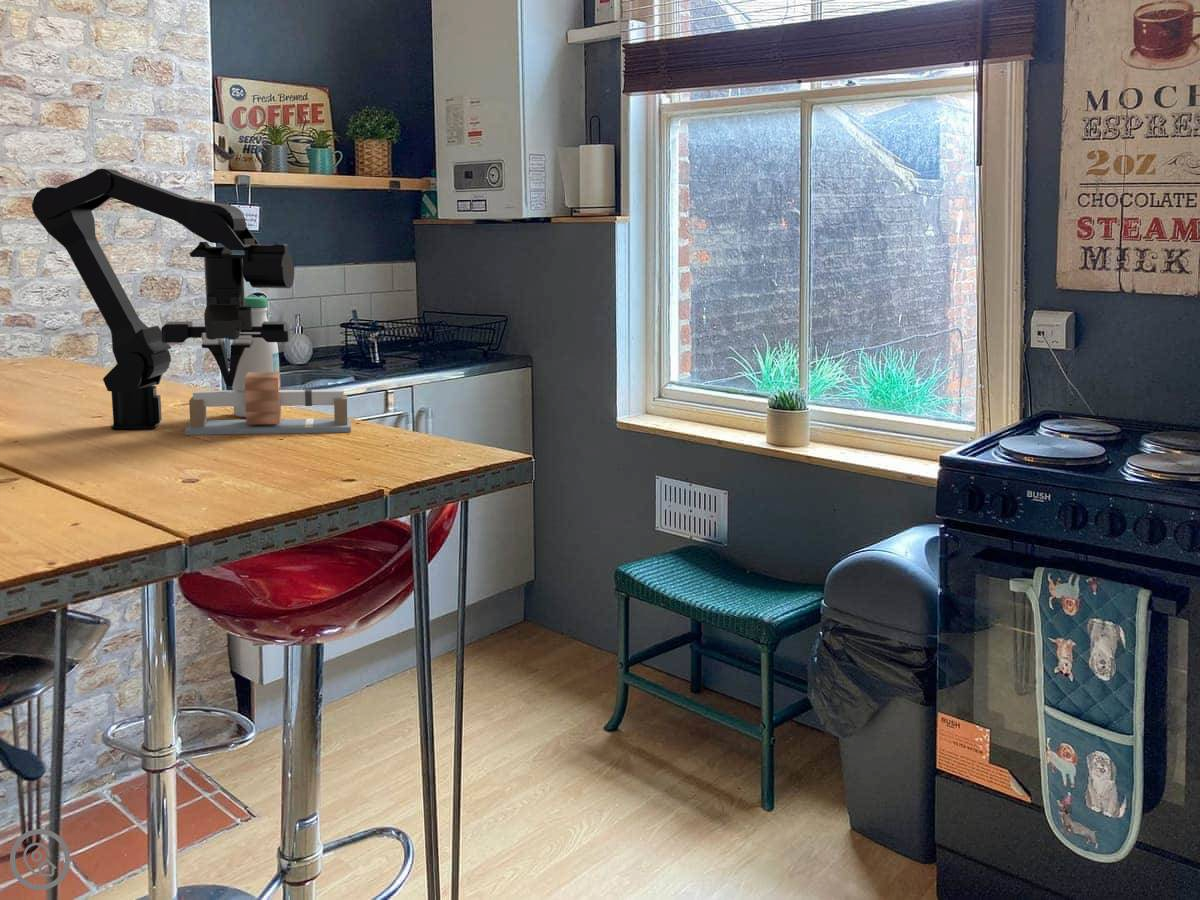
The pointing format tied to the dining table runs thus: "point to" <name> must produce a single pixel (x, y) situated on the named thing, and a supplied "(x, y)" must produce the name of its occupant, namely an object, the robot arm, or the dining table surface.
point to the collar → (262, 398)
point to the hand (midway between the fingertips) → (229, 386)
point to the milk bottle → (256, 351)
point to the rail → (286, 398)
